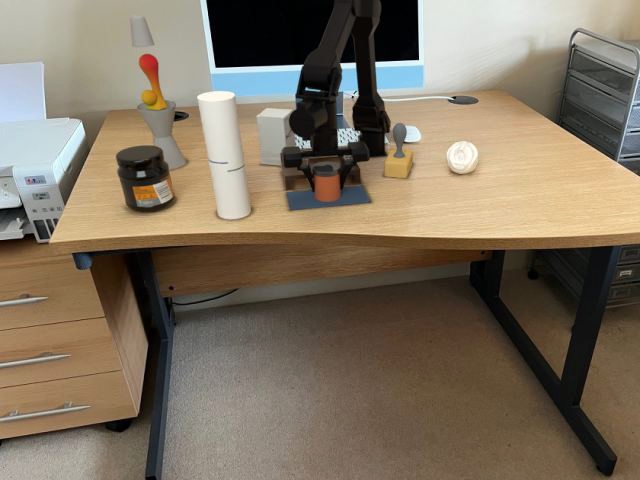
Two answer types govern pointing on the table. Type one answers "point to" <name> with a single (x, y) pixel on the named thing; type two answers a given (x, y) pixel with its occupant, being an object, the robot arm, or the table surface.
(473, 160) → the cream swirled ball
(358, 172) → the shelf
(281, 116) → the white packaging box
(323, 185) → the jar
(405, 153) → the rubber stamp
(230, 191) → the cylindrical container
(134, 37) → the lava lamp
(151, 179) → the supplement container
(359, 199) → the mat
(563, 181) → the table surface
